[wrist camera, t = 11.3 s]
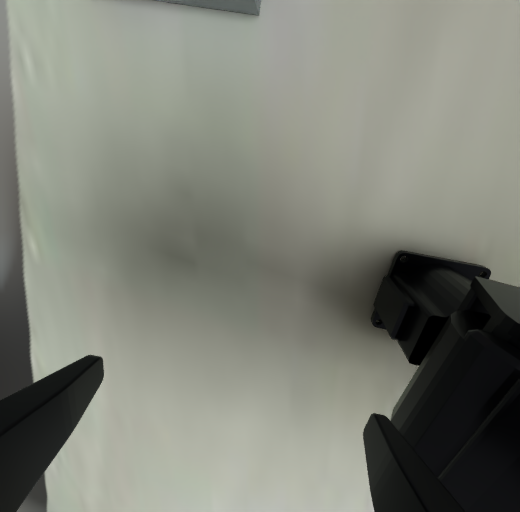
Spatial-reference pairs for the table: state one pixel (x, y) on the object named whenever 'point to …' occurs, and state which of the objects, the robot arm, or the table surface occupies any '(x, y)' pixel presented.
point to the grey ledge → (224, 5)
